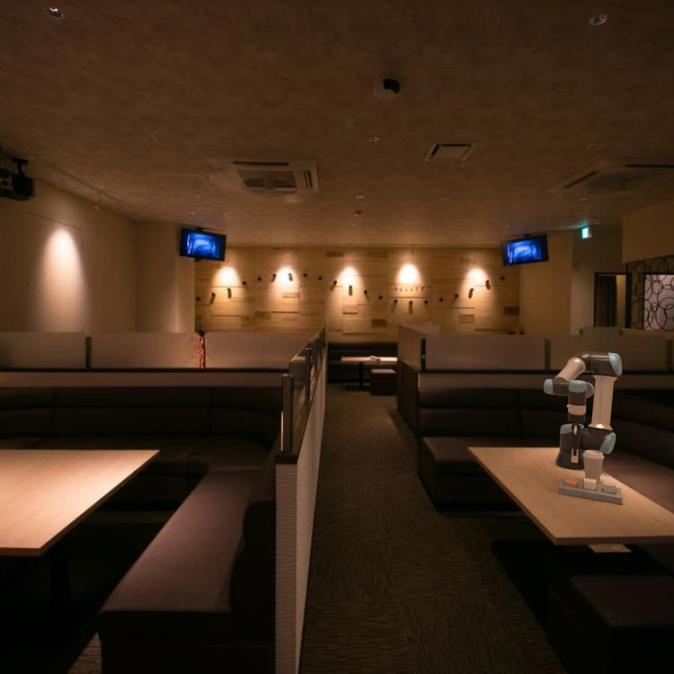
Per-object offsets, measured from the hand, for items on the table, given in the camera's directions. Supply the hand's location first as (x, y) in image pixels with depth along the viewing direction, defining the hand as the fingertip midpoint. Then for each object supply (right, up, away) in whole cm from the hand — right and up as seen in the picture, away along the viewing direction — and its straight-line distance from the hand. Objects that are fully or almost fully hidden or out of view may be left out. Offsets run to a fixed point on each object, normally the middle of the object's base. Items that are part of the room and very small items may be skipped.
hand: (574, 461), depth 231 cm
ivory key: (+6, -12, -3) cm, 13 cm away
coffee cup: (+16, -14, +15) cm, 26 cm away
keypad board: (+6, -15, -2) cm, 16 cm away
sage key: (+13, -12, -6) cm, 19 cm away
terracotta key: (-1, -13, +1) cm, 13 cm away
